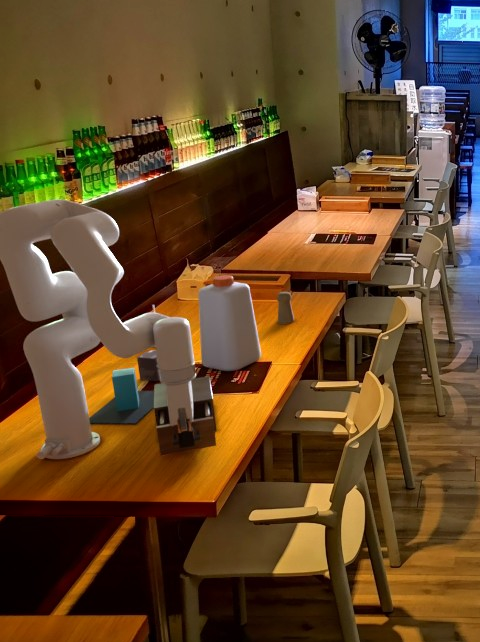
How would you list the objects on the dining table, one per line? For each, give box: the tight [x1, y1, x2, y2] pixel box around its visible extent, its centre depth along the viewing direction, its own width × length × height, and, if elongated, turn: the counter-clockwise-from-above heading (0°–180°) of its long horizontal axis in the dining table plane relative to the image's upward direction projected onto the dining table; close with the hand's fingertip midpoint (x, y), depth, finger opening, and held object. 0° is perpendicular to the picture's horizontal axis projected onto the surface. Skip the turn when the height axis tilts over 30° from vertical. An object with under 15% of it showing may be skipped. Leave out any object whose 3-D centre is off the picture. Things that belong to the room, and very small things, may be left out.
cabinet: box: [153, 375, 218, 432], centre depth 189 cm, size 16×14×9 cm
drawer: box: [155, 402, 217, 457], centre depth 178 cm, size 19×12×7 cm, turn 24°
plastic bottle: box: [198, 274, 262, 372], centre depth 227 cm, size 15×15×28 cm
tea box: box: [111, 366, 139, 411], centre depth 198 cm, size 5×5×10 cm
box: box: [136, 350, 160, 382], centre depth 218 cm, size 6×6×7 cm
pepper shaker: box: [276, 291, 295, 325], centre depth 267 cm, size 6×6×11 cm
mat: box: [89, 390, 154, 426], centre depth 199 cm, size 20×14×1 cm
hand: (187, 445), depth 168 cm, fingers closed
